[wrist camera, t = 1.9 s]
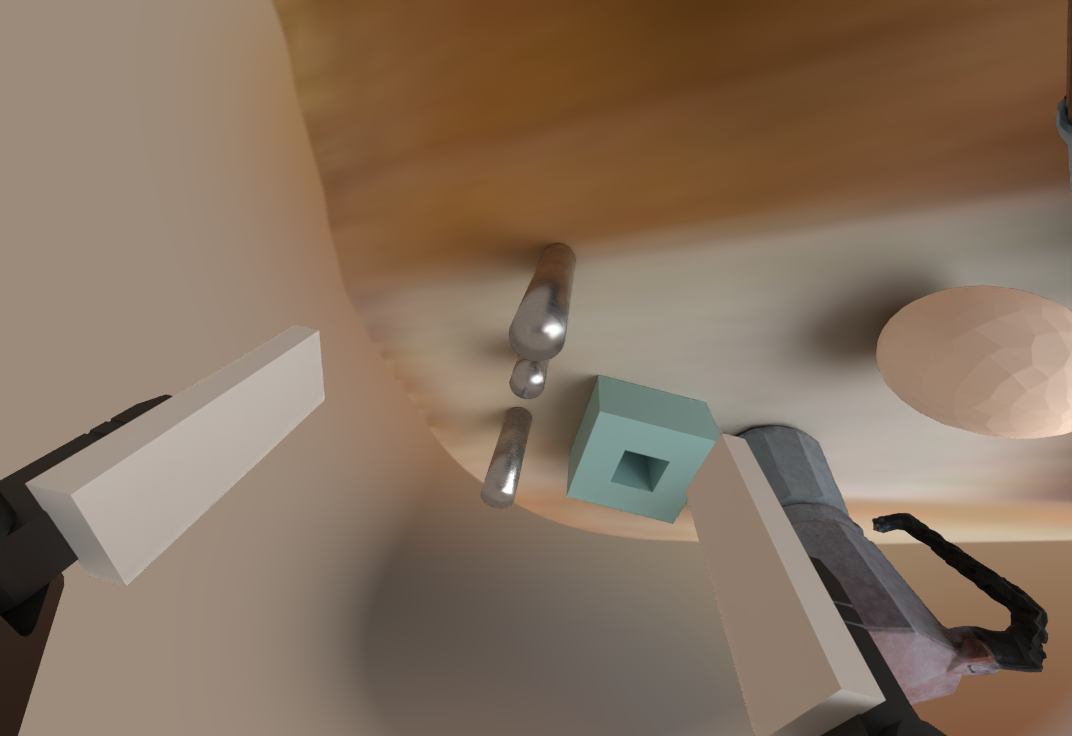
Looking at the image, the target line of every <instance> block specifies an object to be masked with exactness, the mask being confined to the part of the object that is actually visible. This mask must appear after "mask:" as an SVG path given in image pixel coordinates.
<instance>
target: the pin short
mask: <svg viewBox="0 0 1072 736" xmlns="http://www.w3.org/2000/svg"><path fill="white" fill-rule="evenodd" d="M548 363H549V360H545V361H532V360H528V359H526V358H524V357H522V356H521V355H518V358H517V361H516V364H515V367H514V370H513V373H512V375H511V378H510V388H511V390H512V391H513V393H514V394H515V395H517V396H519V397H521V398H524V399H533V398H536V397H538V396H539V395H540V394H541V393H542V391H543V389H544V384H545V379H546V373H547V368H548Z"/></svg>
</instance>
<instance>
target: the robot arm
mask: <svg viewBox="0 0 1072 736" xmlns="http://www.w3.org/2000/svg"><path fill="white" fill-rule="evenodd" d="M1055 120H1056V127H1057V130H1058V133H1059V136H1060V137H1061V138H1062V139H1063V140H1064V141H1065V143H1066V144H1067V145H1068V157H1069V171H1070V184H1071V198H1072V0H1068V28H1067V95H1066V96H1065V97H1064V99H1063V100H1062V101H1061V102H1060V103H1059V104H1058V106H1057V112H1056V118H1055ZM324 400H325V396H324V384H323V372H322V360H321V349H320V338H319V331H318V330H316V329H312V328H308V327H304V326H300V325H296V324H295V325H293V326H292V327H290V328H288V329H286V330H285V331H283V332H281V333H280V334H278V335H276V336H275V337H273V338H271V339H270V340H268V341H266V342H265V343H263V344H261V345H259V346H258V347H256V348H254V349H253V350H251V351H249V352H247V353H246V354H244V355H242V356H241V357H239V358H237V359H236V360H234V361H232V362H230V363H229V364H227V365H226V366H224V367H222V368H220V369H219V370H217V371H215V372H214V373H212V374H210V375H208V376H207V377H205V378H203V379H202V380H200V381H198V382H197V383H195V384H193V385H191V386H190V387H188V388H187V389H185V390H183V391H182V392H180V393H178V394H176V395H174V396H170V395H163V396H160V397H157V398H154V399H151V400H148V401H145V402H142V403H139V404H136V405H135V406H133V407H131V408H129V409H127V410H126V411H124V412H122V413H120V414H118V415H117V416H115V417H113V418H111V421H110V422H104V423H103V424H101V425H99V426H97V427H95V428H93V429H92V430H90V432H89V433H88V434H83V435H81V436H79V437H77V438H75V439H74V440H72V441H70V442H68V443H67V444H65V445H63V446H61V447H59V448H58V449H56V450H54V451H52V452H51V453H49V454H47V455H45V456H44V457H41V458H40V459H38V460H36V461H34V462H33V463H31V464H29V465H28V466H25V467H24V468H22V469H20V470H18V471H16V472H15V473H13V474H11V475H9V476H7V477H6V478H4V479H2V480H0V736H18V733H19V730H20V727H21V724H22V720H23V717H24V714H25V711H26V707H27V704H28V701H29V698H30V694H31V691H32V688H33V685H34V682H35V678H36V675H37V672H38V669H39V665H40V662H41V659H42V655H43V652H44V649H45V646H46V642H47V639H48V636H49V633H50V630H51V626H52V623H53V620H54V616H55V613H56V610H57V607H58V604H59V600H60V597H61V594H62V591H63V587H64V576H63V574H62V573H61V572H62V571H64V570H65V569H66V568H68V567H69V566H70V565H71V564H73V563H74V562H75V561H76V560H78V561H79V562H80V564H81V565H82V567H83V568H84V570H85V571H86V573H87V574H88V575H89V577H93V578H97V579H101V580H105V581H109V582H113V583H117V584H121V585H125V586H127V585H128V584H129V583H130V582H131V581H132V580H133V579H134V578H135V577H136V576H138V575H139V574H140V573H141V572H142V571H143V570H144V569H145V568H146V567H147V566H148V565H149V564H150V563H151V562H152V561H154V560H155V559H156V558H157V557H158V556H159V555H160V554H161V553H162V552H163V551H164V550H165V549H166V548H167V547H168V546H170V544H172V543H173V542H174V541H175V540H176V539H177V538H178V537H179V536H180V535H181V534H182V533H183V532H184V531H185V530H187V529H188V528H189V527H190V526H191V525H192V524H193V523H194V522H195V521H196V520H197V519H198V518H199V517H200V516H201V515H202V514H204V513H205V512H206V511H207V510H208V509H209V508H210V507H211V506H212V505H213V504H214V503H215V502H216V501H217V500H218V499H220V498H221V497H222V496H223V495H224V494H225V493H226V492H227V491H228V490H229V489H230V488H231V487H232V486H233V485H234V484H236V483H237V482H238V481H239V479H241V478H242V477H243V476H244V475H245V474H246V473H247V472H248V471H249V470H250V469H251V468H252V467H254V466H255V465H256V464H257V463H258V462H259V461H260V460H261V459H262V458H263V457H264V456H265V455H266V454H267V453H269V452H270V451H271V450H272V449H273V448H274V447H275V446H276V445H277V444H278V443H279V442H280V441H281V440H282V439H283V438H284V437H285V436H287V435H288V434H289V433H290V432H291V431H292V430H293V429H294V428H295V427H296V426H297V425H298V424H299V423H300V422H302V421H303V420H304V419H305V418H306V417H307V416H308V415H309V414H310V413H311V412H312V411H313V410H314V409H315V408H316V407H317V406H319V405H320V403H322V402H323V401H324ZM685 492H686V495H687V499H688V503H689V506H690V510H691V513H692V517H693V520H694V524H695V527H696V531H697V534H698V538H699V541H700V545H701V549H702V552H703V555H704V559H705V563H706V566H707V570H708V573H709V577H710V580H711V584H712V587H713V591H714V595H715V598H716V602H717V605H718V608H719V612H720V616H721V619H722V623H723V626H724V630H725V633H726V637H727V641H728V644H729V648H730V651H731V655H732V658H733V662H734V665H735V669H736V672H737V676H738V679H739V683H740V687H741V689H742V693H743V697H744V701H745V704H746V708H747V711H748V715H749V718H750V722H751V725H752V729H753V733H754V736H946V735H945V734H944V733H942V732H941V731H940V730H938V729H937V728H935V727H934V726H932V725H931V724H929V723H928V722H925V721H922V720H920V718H919V717H918V715H917V714H916V713H915V711H914V709H913V708H912V706H911V704H910V703H909V701H908V699H907V697H906V696H905V694H904V692H903V690H902V689H901V687H900V685H899V684H898V682H897V680H896V678H895V677H894V675H893V673H892V672H891V670H890V668H889V666H888V665H887V663H886V661H885V659H884V658H883V656H882V654H881V653H880V651H879V649H878V647H877V646H876V644H875V642H874V641H873V639H872V637H871V635H870V634H869V632H868V630H865V629H864V623H863V622H862V620H861V618H860V616H859V615H858V613H857V611H856V610H855V609H853V608H852V605H853V604H852V603H851V601H850V599H849V597H848V596H847V594H846V592H845V591H844V589H843V587H842V585H841V584H840V582H839V581H838V579H837V578H836V577H835V576H834V575H833V574H832V573H831V572H830V570H829V569H828V568H827V567H826V566H825V565H824V564H823V563H822V561H821V560H820V559H818V558H814V557H810V556H808V555H807V553H806V551H805V549H804V547H803V546H802V544H801V542H800V540H799V538H798V536H797V535H796V533H795V531H794V529H793V527H792V525H791V523H790V522H789V520H788V518H787V516H786V514H785V512H784V510H783V509H782V507H781V505H780V503H779V501H778V499H777V498H776V496H775V494H774V492H773V490H772V488H771V486H770V485H769V483H768V481H767V479H766V477H765V475H764V473H763V472H762V470H761V468H760V466H759V464H758V462H757V461H756V459H755V457H754V455H753V453H752V451H751V449H750V448H749V446H748V444H747V442H746V440H745V439H743V438H739V437H736V436H732V435H728V434H724V433H721V434H720V436H719V438H718V439H717V441H716V442H715V444H714V446H713V447H712V449H711V451H710V452H709V454H708V455H707V457H706V459H705V460H704V462H703V463H702V465H701V467H700V468H699V470H698V471H697V473H696V475H695V476H694V478H693V479H692V481H691V483H690V484H689V486H688V488H687V489H686V491H685Z"/></svg>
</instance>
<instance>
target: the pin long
mask: <svg viewBox="0 0 1072 736" xmlns="http://www.w3.org/2000/svg"><path fill="white" fill-rule="evenodd" d="M575 262H576V258H575V254H574V252H573V250H572V249H571V248H570V247H569V246H567V245H565V244H562V243H556V244H553V245H551V246H549V247H548V248H547V249H546V250H545V252H544V254H543V256H542V258H541V260H540V262H539V265H538V267H537V269H536V271H535V273H534V275H533V278H532V280H531V282H530V284H529V286H528V289H527V291H526V293H525V295H524V297H523V300H522V302H521V304H520V306H519V308H518V310H517V313H516V315H515V317H514V319H513V321H512V324H511V326H510V329H509V339H510V343H511V345H512V347H513V348H514V350H515V351H516V352H517V353H518V354H519V355H521V356H522V357H524V358H526V359H528V360H532V361H545V360H549V359H551V358H553V357H555V356H556V355H557V354H558V353H559V352H560V351H561V349H562V347H563V345H564V342H565V335H566V328H567V320H568V313H569V306H570V299H571V291H572V284H573V277H574V269H575Z"/></svg>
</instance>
